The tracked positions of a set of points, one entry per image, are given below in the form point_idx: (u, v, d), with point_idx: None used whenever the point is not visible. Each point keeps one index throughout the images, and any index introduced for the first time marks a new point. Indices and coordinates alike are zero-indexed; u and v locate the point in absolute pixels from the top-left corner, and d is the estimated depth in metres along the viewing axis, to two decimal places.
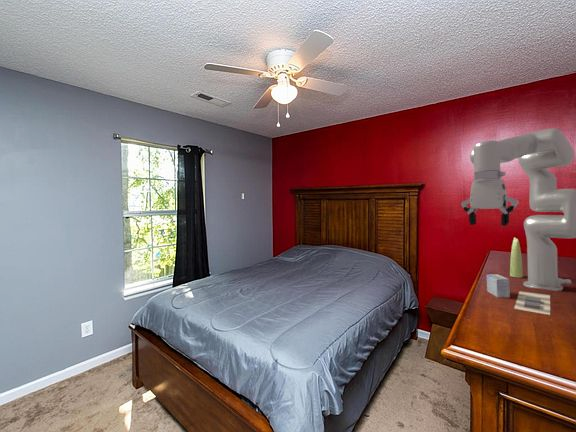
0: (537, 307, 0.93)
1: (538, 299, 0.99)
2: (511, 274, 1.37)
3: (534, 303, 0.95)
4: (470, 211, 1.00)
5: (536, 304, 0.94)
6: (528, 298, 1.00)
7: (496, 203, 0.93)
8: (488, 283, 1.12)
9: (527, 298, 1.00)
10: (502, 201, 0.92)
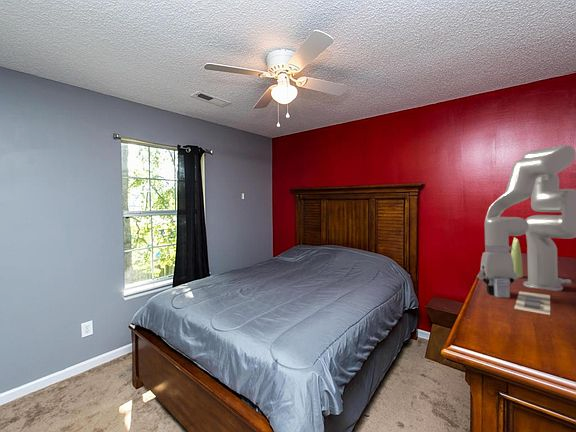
0: (537, 307, 0.93)
1: (538, 299, 0.99)
2: None
3: (534, 303, 0.95)
4: (491, 282, 1.08)
5: (536, 304, 0.94)
6: (528, 298, 1.00)
7: (510, 274, 1.06)
8: None
9: (527, 298, 1.00)
10: (513, 272, 1.07)
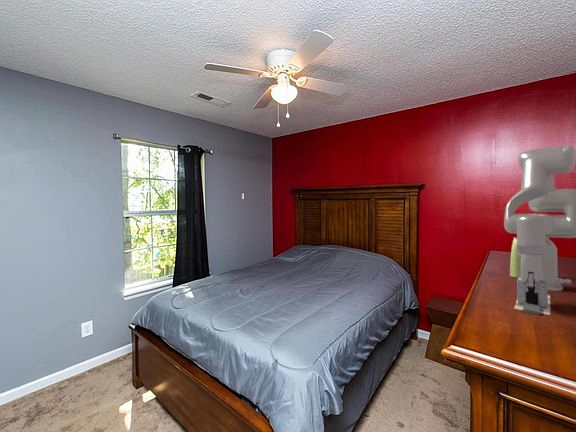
0: (536, 313, 0.89)
1: (537, 306, 0.93)
2: (511, 274, 1.37)
3: (533, 308, 0.91)
4: (536, 289, 0.94)
5: (535, 309, 0.90)
6: (527, 304, 0.94)
7: None
8: (522, 290, 0.97)
9: (526, 304, 0.94)
10: None
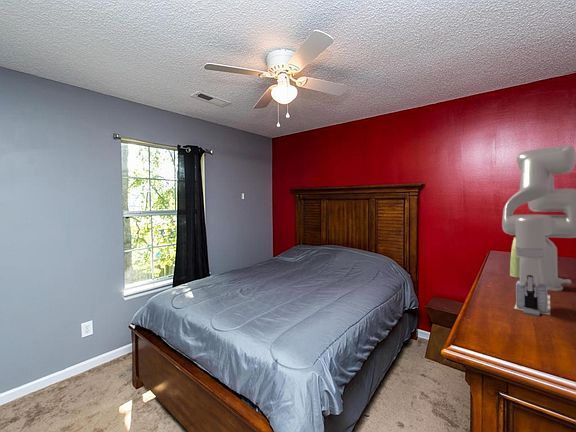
0: None
1: (537, 311, 0.89)
2: (511, 274, 1.37)
3: None
4: None
5: None
6: (526, 310, 0.91)
7: None
8: (521, 294, 0.93)
9: (525, 310, 0.91)
10: None
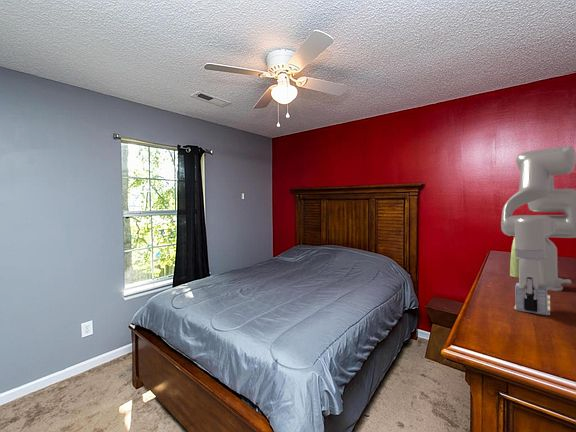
0: None
1: None
2: (511, 274, 1.37)
3: None
4: (535, 296, 0.88)
5: None
6: None
7: None
8: (521, 296, 0.91)
9: None
10: None
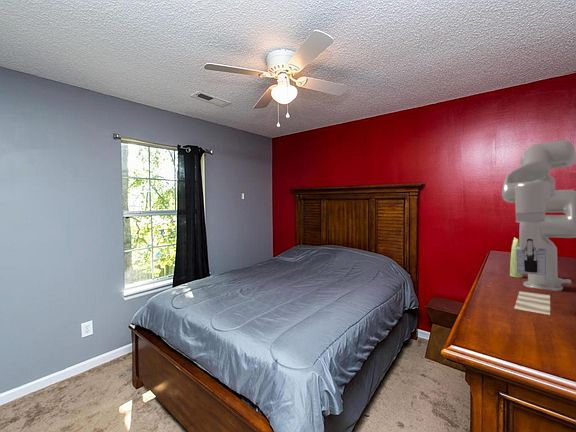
0: None
1: None
2: (511, 274, 1.37)
3: None
4: (535, 257, 0.91)
5: None
6: None
7: None
8: (521, 258, 0.94)
9: None
10: None
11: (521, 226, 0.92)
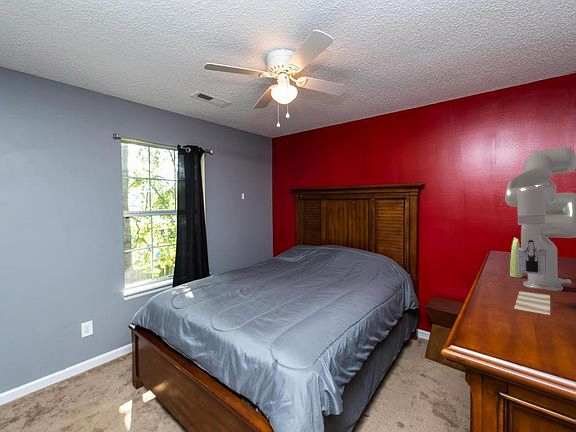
0: None
1: None
2: (511, 274, 1.37)
3: None
4: (536, 257, 0.96)
5: None
6: None
7: None
8: (523, 259, 0.99)
9: None
10: None
11: (523, 228, 0.97)
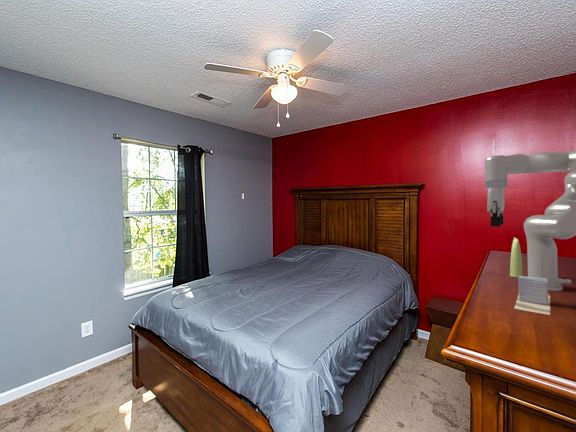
0: None
1: None
2: (511, 274, 1.37)
3: None
4: (499, 214, 1.12)
5: None
6: None
7: None
8: (524, 288, 1.00)
9: None
10: None
11: (488, 191, 1.14)
